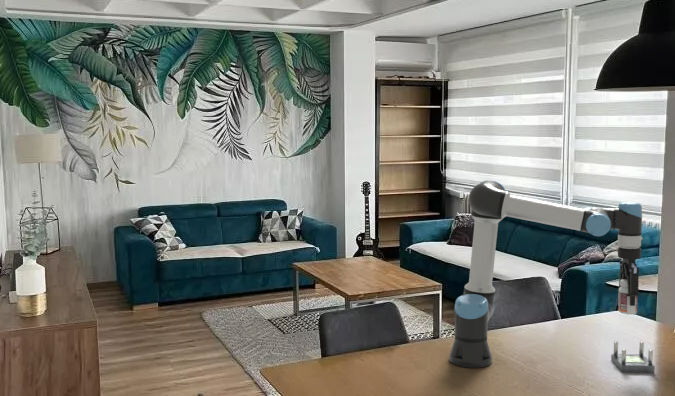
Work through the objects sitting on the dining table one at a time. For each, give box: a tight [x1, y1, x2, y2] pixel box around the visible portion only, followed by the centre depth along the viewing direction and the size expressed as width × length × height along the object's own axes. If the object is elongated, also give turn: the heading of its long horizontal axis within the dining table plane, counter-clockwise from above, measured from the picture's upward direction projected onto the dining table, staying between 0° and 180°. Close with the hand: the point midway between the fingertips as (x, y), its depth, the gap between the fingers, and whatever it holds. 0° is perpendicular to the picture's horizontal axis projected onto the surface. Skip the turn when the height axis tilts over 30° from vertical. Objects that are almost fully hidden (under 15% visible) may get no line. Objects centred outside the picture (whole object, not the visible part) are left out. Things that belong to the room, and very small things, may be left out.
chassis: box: [610, 340, 656, 374], centre depth 253 cm, size 11×12×8 cm
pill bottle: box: [617, 279, 638, 315], centre depth 251 cm, size 6×6×11 cm
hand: (628, 311), depth 251 cm, fingers closed on pill bottle, 6 cm apart
